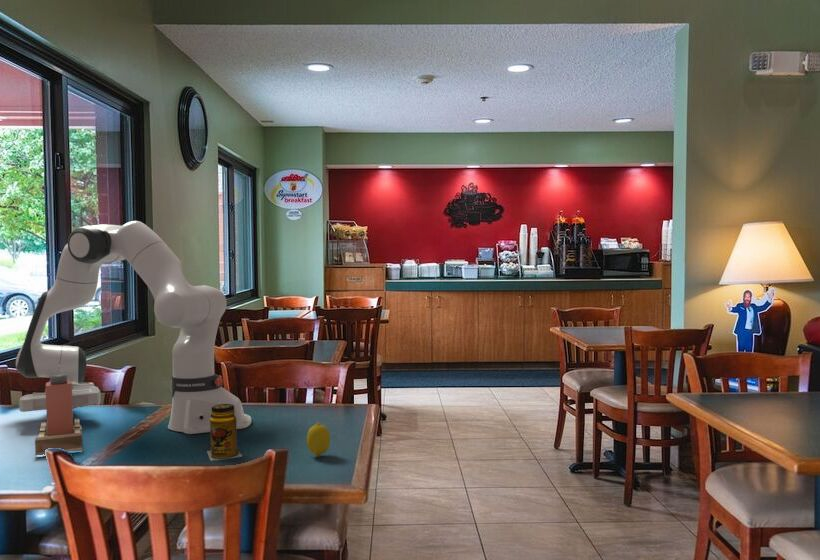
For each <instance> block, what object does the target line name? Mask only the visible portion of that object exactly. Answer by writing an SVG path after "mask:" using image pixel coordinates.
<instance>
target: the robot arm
mask: <svg viewBox="0 0 820 560" xmlns="http://www.w3.org/2000/svg"><path fill="white" fill-rule="evenodd" d="M124 261H125V262H126V261H127V262H128V264H129V265H130V266H131V267H132V269H134V271H135V272H136V274H137V275H139V277H140V278H141V279H142V281H143V282H144V283H145V284H146V285H147V288H148V289H149V291H150V293H151V295H152V297H153V300H154V305H153V312H154V316H155V318H156V320H157V321H158V323H160V325H162V326H165V327H168V328H174V329H180V331H179V336H178V338H177V340H176V342H175V343H174V345H173V346H172V353H171V354H172V356H171V357H172V359H171V360H172V376H171V378H170V379H171V380H170V392H171V393H170V394H171V398H172V400H171V401H172V402H171V403H172V404H171V410H170V417H169V422H168V426H167V429H168V430H171V431H174V432H181V433H184V434H187V435H193V434H202V433H210V419H211V417H212V415H211V413H212V410H211V409H212V407H213V406H215V405H219V404H232V405H234V412H235V413H234V415H235V416H236V425H237V426H236V427H237V430H242V429H246V428H248V427H249V426H250V425H251V424H252V416H250V415H249V414H246V413H244V409H243V404H242V401H241V400H240V398H239V397H237V396H236V395H234V394H233V393H232V392H230V391H228V390H227V389H225V388H224V387H223V382H224V381H223V377H222V376H221V375H220V374H219V375H218V374H217V373H215V343H216V338H217V337H216V336H217V333H218V329H219V325H220V321H221V319H222V317H223V315H224V314H225V312H226V310H227V304H228V302H227V297H226V296H225V293H223V292H222V290H220V289H219V288H216V287H213V286H211V285H207V284H202V285H192V284H190V283H189V282H188V281H187V279H186V277H185V275H184V273H183V269H184V268H183V267H184V266H183V263H182V261H181V260H180V259H179V257H178V256H177V255H176V254H175V253H174V252H173V251H172V250H171V248H170V247H169V245H167V243H166V242H165V241H164V240H163V239H162V238H161V237H160V236H159V235H158V234H157V233H156V232H155V231H154V230H153V229H152V228H150V227H149V226H148V225H147V224H145V223H143V222H142V221H139V220H131V221H128V222H126V223H124V224H118V225H117V224H107V223H104V224H103V223H102V224H101V223H100V224H93V225H82V226H80V227H77V228H76V229H73V230H72V231H71V232H70V234H69V235H68V239H67V243H66V244H65V245H64V247H63V249H62V252H61V255H60V258H59V261H58V265H57V270H56V275H55V281H54V283H53V285H52V286H51V287H50V289H49V290H47V291H43V292H42V294H41V295H40V297H39V298H38V302H37V304H36V307H35V309H34V312H33V315H32V317H31V321H30V323H29V327H28V328H27V331H26V335H25V338H24V342H23V343H22V345H21V347H20V349H19V351H18V353H17V355H16V359H15V369H16V372H18V373H19V374H20V375H21V376H23V377H25V378H26V379H28V378H30V379H31V378H50V376H52V375H57V374H67V381H72V407H73V409H78V408H82V407H87V406H97V405H100V404H101V403H102V402H101V401H102V399H101V397H102V396H101V395H102V394H101V390H100V389H99V387H98V386H95V384H94V382H91V381H90V382H88V381H87V382H86V381H85V382H83V381H84V380H85V379H86V378H85V377H86V373H87V355H86V353H85V351H84V350H83V348H81V347H80V346H74V345H73V346H72V345H59V344H58V345H57V344H44V343H41V339H42V336H43V333H44V331H45V327H46V324H47V321H48V320H49V319H50V318H51V317H53V316H54V315H57V314H60V313H63V312H68V311H71V310H72V311H73V310H76V309H80V308H82V307H84V306H86V305H87V304H89V303H90V302H91V301H92V300H93V299H94V298H95V295H96V291H97V287H98V282H99V273H100V269H101V266H102V265H103V264H110V263H116V262H124ZM48 382H50V380H49V381H48ZM18 403H19V404H18V407H19V408H18V409H19V411H20V412H23V413H24V412H25V413H26V412H34V411H36V412H37V411H45V410H46V388H45V389H44V392H38V393H30V394H25V395H23V396H21V397H20V398H19V401H18Z"/></svg>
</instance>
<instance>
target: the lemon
mask: <svg viewBox="0 0 820 560" xmlns="http://www.w3.org/2000/svg"><path fill="white" fill-rule="evenodd" d="M306 445H307V448H308V450H309V452H310V453H312V454H313V455H316V457H319V458H320V457H321V456H322V455H323V454H325V453H326V452H327V451H328V450H329V448H330V445H331V434H330V431H329V429H328V427H327V426H325V425H323V424H321V423H320V422H317V423H316V424H314V425H312V426H311V427H310V428H309V430H308V432H307V435H306Z"/></svg>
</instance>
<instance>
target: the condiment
mask: <svg viewBox="0 0 820 560" xmlns="http://www.w3.org/2000/svg"><path fill="white" fill-rule="evenodd" d="M211 410H212V413H211V415H212V417H211V419H210V432H209V434H210V435H209V436H210V450H207V451H206V454H207V455H208V458H209V460H210V461H211V462H212V461H222V460H229V459H235V458H241V457H243V455H242V454H241V452H240V450H239V447H238V434H237V433H238V432H237V431H238V429H237V427H236V426H237V425H236V416H235V415H234V413H235V412H234V405H232V404H219V405H215V406H213V407H212V409H211Z"/></svg>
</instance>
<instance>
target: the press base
mask: <svg viewBox="0 0 820 560" xmlns="http://www.w3.org/2000/svg"><path fill="white" fill-rule="evenodd" d="M80 420H81V419H80V418H74V425H73V433H67V434H58V435H50V436H47V421H43V422H42V421H41V422H40V427H39V428H40V429H39V431H38V432H39V433H38V437H35V439H34V445H35V447H34V449H35V456H36V455H43V454H44V455H45V450H46V449H48V448H61V449H64V450H66V451H82V452H83V432H82V425H81V424H80Z"/></svg>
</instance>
